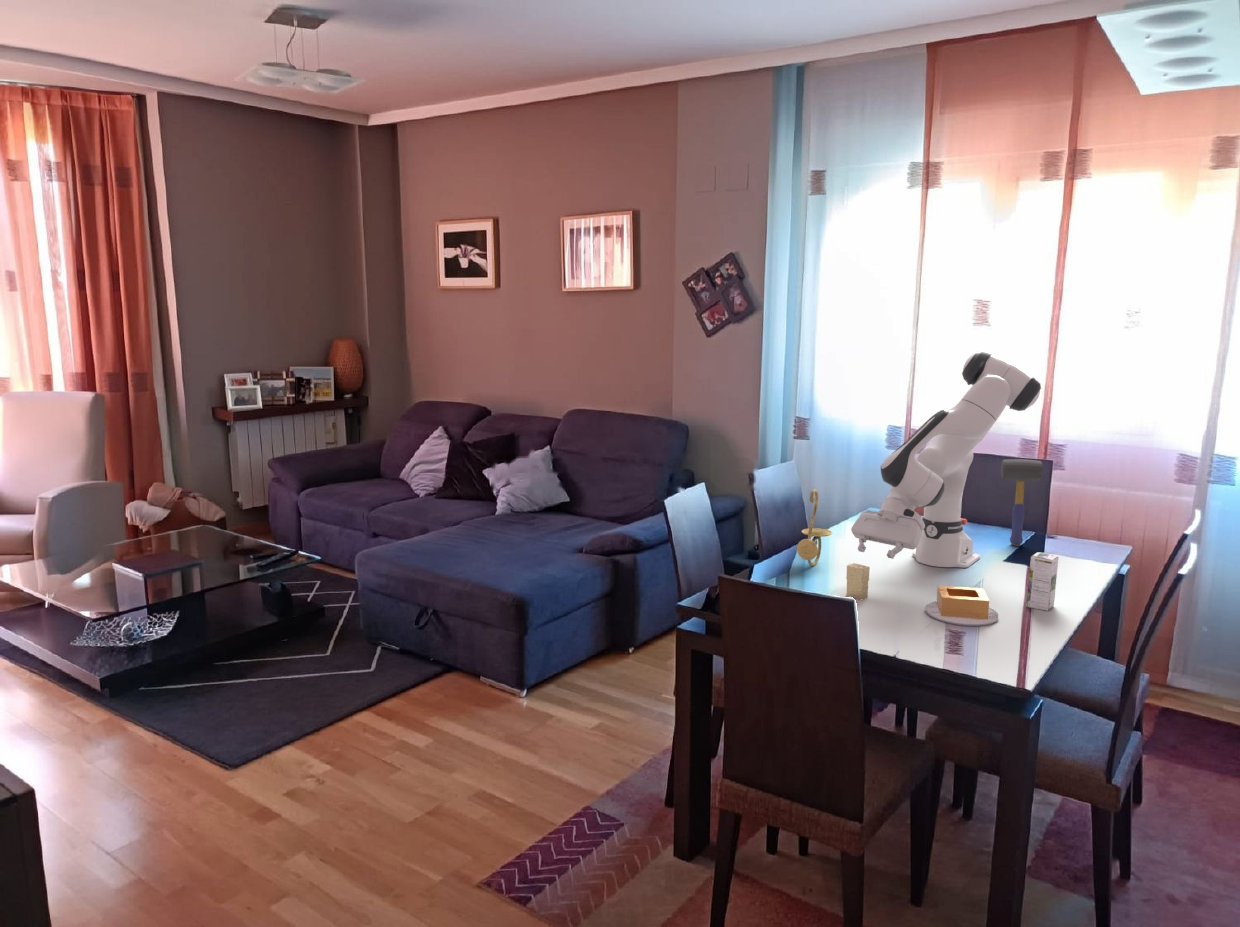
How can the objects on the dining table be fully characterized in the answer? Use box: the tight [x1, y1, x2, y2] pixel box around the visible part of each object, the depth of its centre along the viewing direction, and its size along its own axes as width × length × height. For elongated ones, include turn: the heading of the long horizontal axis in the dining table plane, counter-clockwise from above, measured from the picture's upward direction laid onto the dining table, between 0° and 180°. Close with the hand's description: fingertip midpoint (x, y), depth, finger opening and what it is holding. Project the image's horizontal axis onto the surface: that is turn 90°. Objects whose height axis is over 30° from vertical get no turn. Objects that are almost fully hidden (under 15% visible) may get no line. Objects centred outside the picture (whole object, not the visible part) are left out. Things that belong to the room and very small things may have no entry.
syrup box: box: [1025, 551, 1060, 612], centre depth 239 cm, size 6×6×14 cm
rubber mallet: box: [1000, 458, 1044, 547], centre depth 300 cm, size 12×8×30 cm, turn 74°
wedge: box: [845, 562, 870, 601], centre depth 248 cm, size 4×5×9 cm
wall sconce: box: [796, 489, 833, 567], centre depth 277 cm, size 14×10×25 cm
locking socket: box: [925, 585, 999, 627], centre depth 233 cm, size 18×18×6 cm
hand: (874, 553), depth 250 cm, fingers open, 8 cm apart
